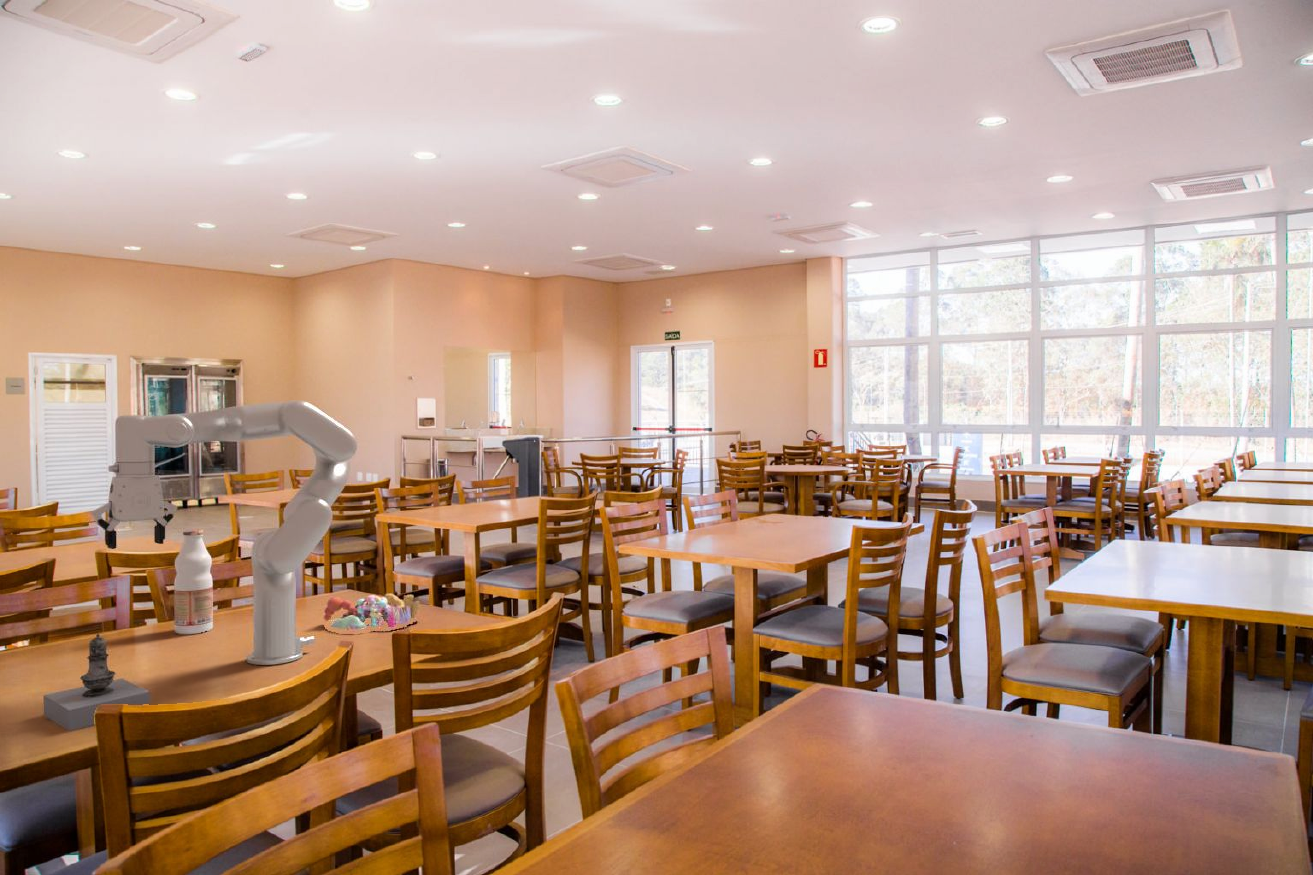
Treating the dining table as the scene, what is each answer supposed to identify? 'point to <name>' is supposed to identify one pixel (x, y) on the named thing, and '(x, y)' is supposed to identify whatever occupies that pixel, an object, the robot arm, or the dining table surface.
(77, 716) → the stand
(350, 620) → the candy landscape model
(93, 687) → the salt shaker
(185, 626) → the fruit juice
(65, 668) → the dining table surface
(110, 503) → the robot arm
